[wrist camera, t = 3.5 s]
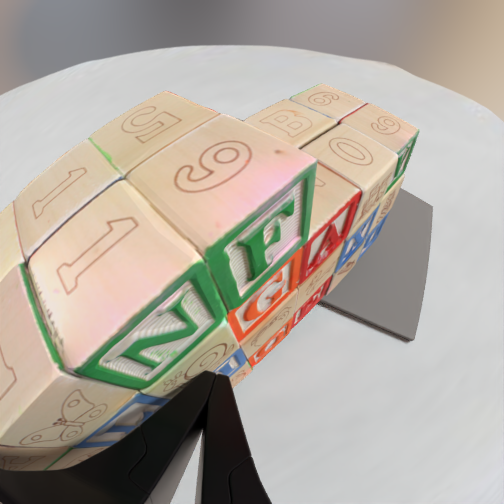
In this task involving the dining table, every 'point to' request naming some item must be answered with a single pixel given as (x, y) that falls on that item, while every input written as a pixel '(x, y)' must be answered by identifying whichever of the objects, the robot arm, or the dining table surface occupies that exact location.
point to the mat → (390, 271)
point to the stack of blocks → (178, 257)
